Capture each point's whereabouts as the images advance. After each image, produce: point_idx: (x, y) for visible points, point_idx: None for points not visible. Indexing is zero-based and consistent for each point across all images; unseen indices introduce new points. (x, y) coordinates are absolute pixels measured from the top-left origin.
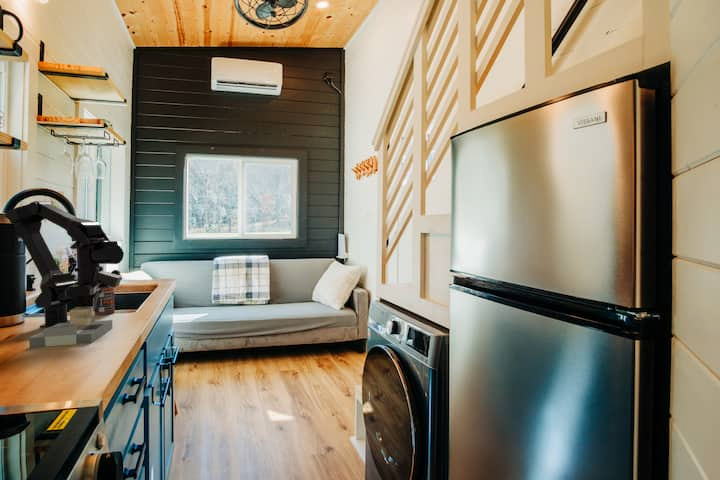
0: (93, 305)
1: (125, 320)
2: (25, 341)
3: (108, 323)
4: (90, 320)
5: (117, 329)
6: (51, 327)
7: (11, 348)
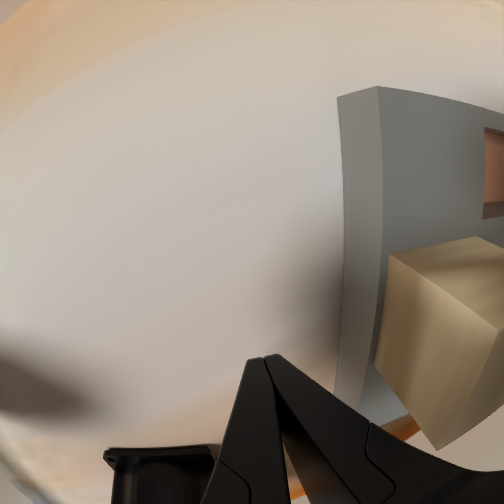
0: (330, 426)
1: (33, 127)
2: None
3: (445, 99)
4: (456, 250)
5: (372, 54)
6: None
7: None
